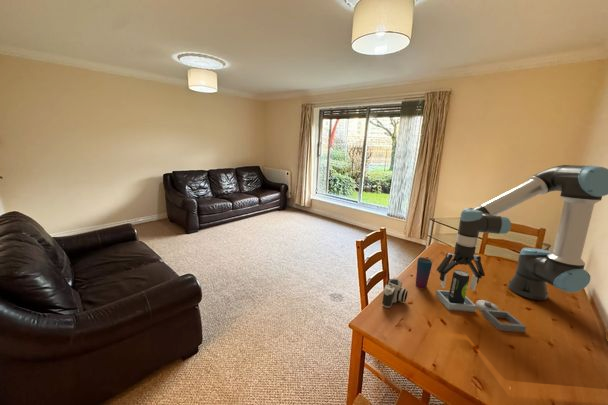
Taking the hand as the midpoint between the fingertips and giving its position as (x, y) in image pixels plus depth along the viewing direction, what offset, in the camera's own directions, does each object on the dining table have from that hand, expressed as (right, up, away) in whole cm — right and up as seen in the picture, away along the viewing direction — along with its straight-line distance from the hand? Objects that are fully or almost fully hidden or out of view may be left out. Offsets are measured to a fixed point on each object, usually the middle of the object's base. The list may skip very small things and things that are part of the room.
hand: (457, 288), depth 113 cm
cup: (-10, -5, +14) cm, 18 cm away
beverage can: (0, -7, +1) cm, 7 cm away
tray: (0, -8, +1) cm, 8 cm away
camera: (-29, -6, +1) cm, 29 cm away
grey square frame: (+12, -10, -7) cm, 17 cm away
